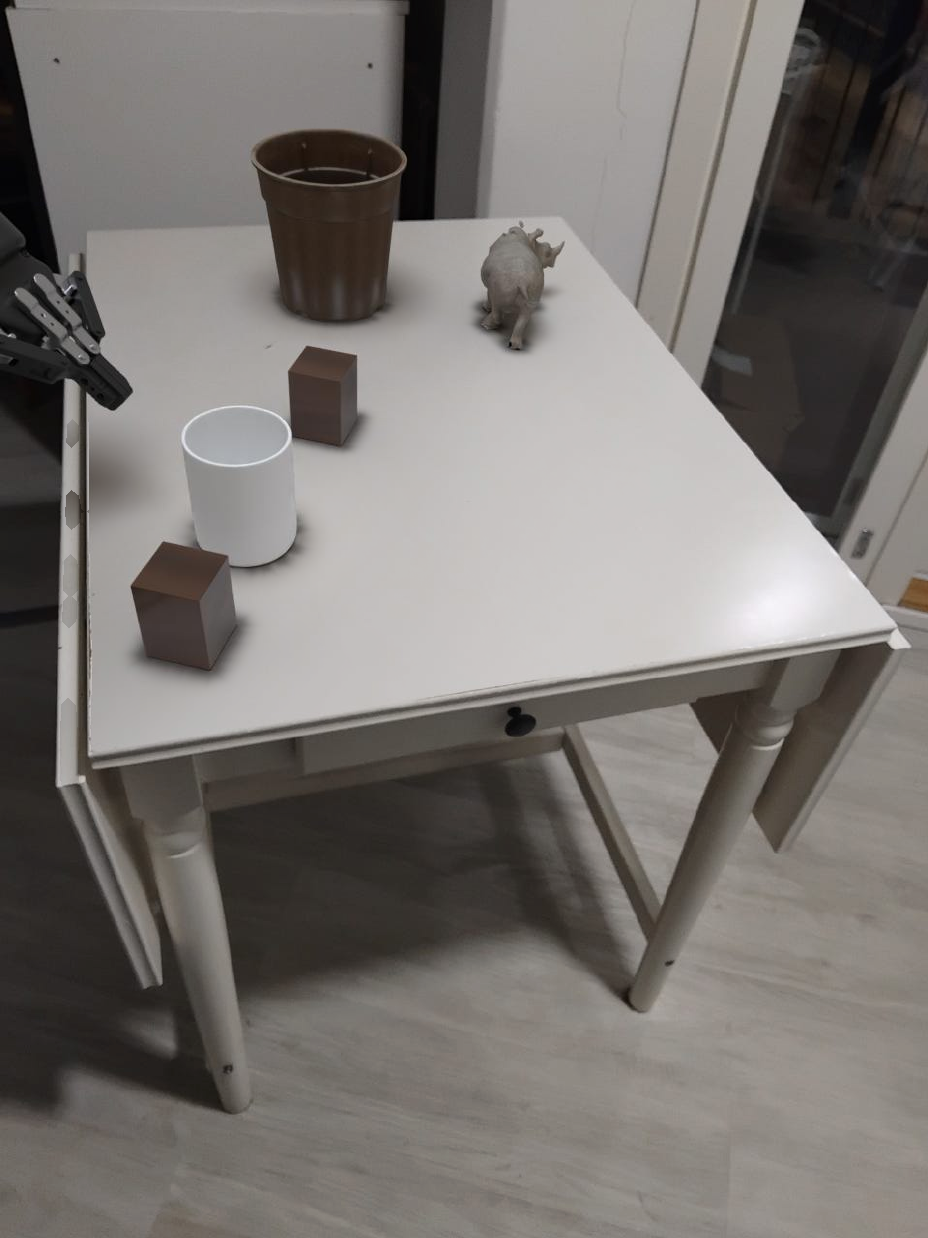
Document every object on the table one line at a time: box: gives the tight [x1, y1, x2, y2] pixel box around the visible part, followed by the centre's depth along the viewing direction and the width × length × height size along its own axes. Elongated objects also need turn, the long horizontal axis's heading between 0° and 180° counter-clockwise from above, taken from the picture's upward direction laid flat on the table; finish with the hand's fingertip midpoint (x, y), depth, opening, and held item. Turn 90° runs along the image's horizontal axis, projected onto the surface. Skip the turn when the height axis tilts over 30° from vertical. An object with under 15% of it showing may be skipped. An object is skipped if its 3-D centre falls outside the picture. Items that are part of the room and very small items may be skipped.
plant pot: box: [250, 128, 408, 323], centre depth 105 cm, size 16×16×16 cm
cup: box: [180, 405, 298, 568], centre depth 77 cm, size 8×12×10 cm
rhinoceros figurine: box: [480, 220, 566, 351], centre depth 108 cm, size 8×14×15 cm
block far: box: [287, 345, 358, 447], centre depth 89 cm, size 5×5×7 cm
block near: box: [130, 540, 238, 671], centre depth 68 cm, size 5×5×7 cm
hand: (123, 401), depth 76 cm, fingers closed
